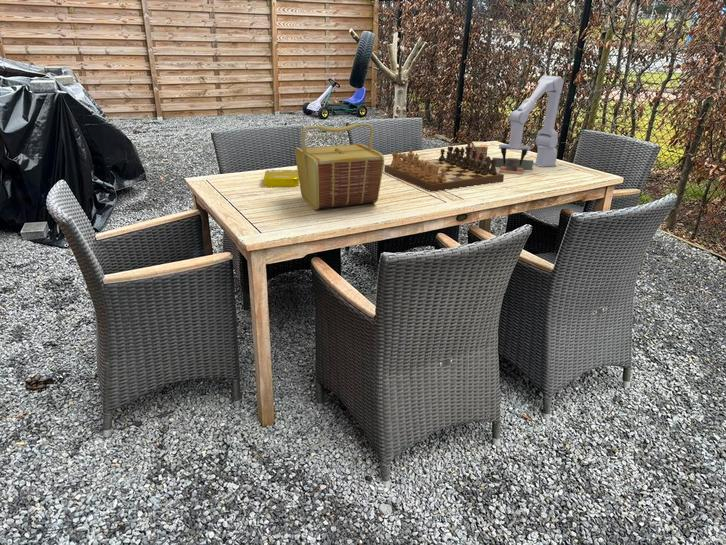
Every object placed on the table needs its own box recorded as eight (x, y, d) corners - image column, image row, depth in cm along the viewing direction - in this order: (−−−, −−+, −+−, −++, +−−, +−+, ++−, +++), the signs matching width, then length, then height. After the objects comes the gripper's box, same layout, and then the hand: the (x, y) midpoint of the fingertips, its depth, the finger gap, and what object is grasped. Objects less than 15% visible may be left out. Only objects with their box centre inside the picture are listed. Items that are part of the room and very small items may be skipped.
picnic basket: (314, 215, 189) (311, 132, 176) (294, 196, 210) (290, 121, 197) (385, 207, 199) (388, 128, 187) (359, 189, 221) (360, 117, 208)
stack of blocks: (467, 161, 274) (469, 138, 269) (478, 161, 274) (481, 138, 268) (472, 171, 255) (475, 146, 249) (485, 171, 254) (488, 146, 249)
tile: (522, 169, 258) (523, 167, 258) (522, 174, 249) (522, 173, 248) (500, 167, 261) (500, 166, 261) (499, 172, 252) (499, 171, 251)
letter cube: (516, 168, 256) (518, 158, 254) (516, 170, 252) (517, 160, 250) (506, 167, 258) (507, 157, 256) (506, 170, 253) (507, 159, 251)
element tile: (264, 188, 222) (263, 177, 220) (265, 179, 236) (265, 169, 234) (299, 187, 224) (298, 177, 222) (298, 178, 237) (298, 168, 235)
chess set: (431, 193, 220) (434, 158, 213) (384, 172, 251) (385, 141, 245) (502, 182, 237) (507, 150, 231) (450, 164, 269) (452, 135, 262)
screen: (532, 169, 259) (533, 160, 257) (532, 169, 258) (533, 161, 256) (491, 166, 264) (492, 157, 262) (491, 166, 263) (492, 157, 261)
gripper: (500, 136, 246) (496, 165, 252) (531, 138, 242) (527, 167, 248) (500, 134, 252) (497, 161, 258) (531, 136, 249) (527, 164, 254)
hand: (512, 164), depth 254 cm, fingers open, 7 cm apart
